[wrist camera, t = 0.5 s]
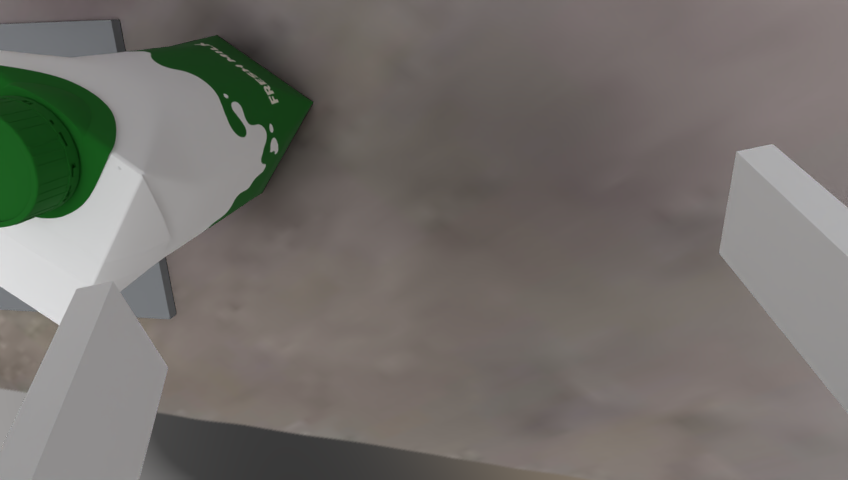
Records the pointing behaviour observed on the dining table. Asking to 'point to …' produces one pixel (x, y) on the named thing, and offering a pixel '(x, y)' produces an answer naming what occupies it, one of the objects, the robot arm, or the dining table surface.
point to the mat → (76, 40)
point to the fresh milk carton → (128, 159)
